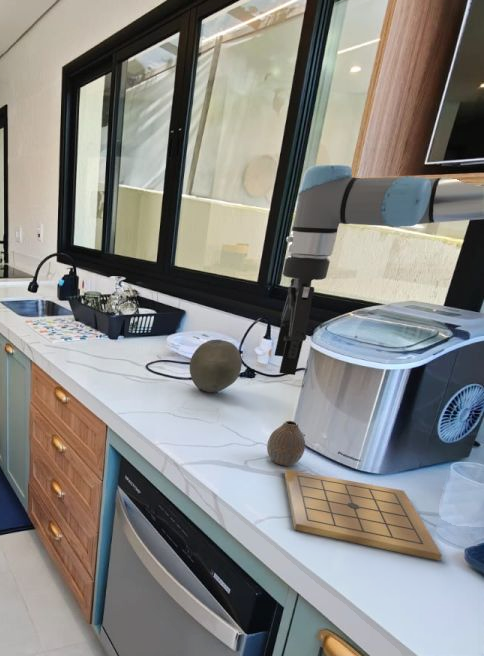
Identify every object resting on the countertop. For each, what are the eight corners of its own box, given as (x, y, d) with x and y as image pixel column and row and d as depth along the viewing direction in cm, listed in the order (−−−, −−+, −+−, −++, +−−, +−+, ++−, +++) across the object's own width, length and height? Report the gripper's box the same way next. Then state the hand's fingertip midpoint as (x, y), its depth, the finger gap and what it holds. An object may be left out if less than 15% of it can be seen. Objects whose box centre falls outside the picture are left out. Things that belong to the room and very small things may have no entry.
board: (402, 496, 93) (404, 490, 93) (439, 561, 76) (442, 554, 75) (284, 474, 100) (285, 468, 99) (294, 529, 82) (295, 523, 82)
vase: (267, 466, 102) (276, 427, 99) (261, 452, 109) (269, 414, 105) (304, 471, 101) (314, 431, 98) (295, 456, 107) (305, 418, 104)
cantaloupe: (175, 390, 145) (183, 339, 139) (202, 380, 153) (210, 332, 148) (220, 404, 135) (230, 350, 129) (246, 393, 143) (256, 342, 138)
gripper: (281, 250, 107) (261, 347, 115) (293, 260, 85) (267, 379, 93) (320, 252, 105) (297, 351, 113) (343, 263, 83) (312, 385, 91)
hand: (284, 364), depth 103 cm, fingers open, 13 cm apart
